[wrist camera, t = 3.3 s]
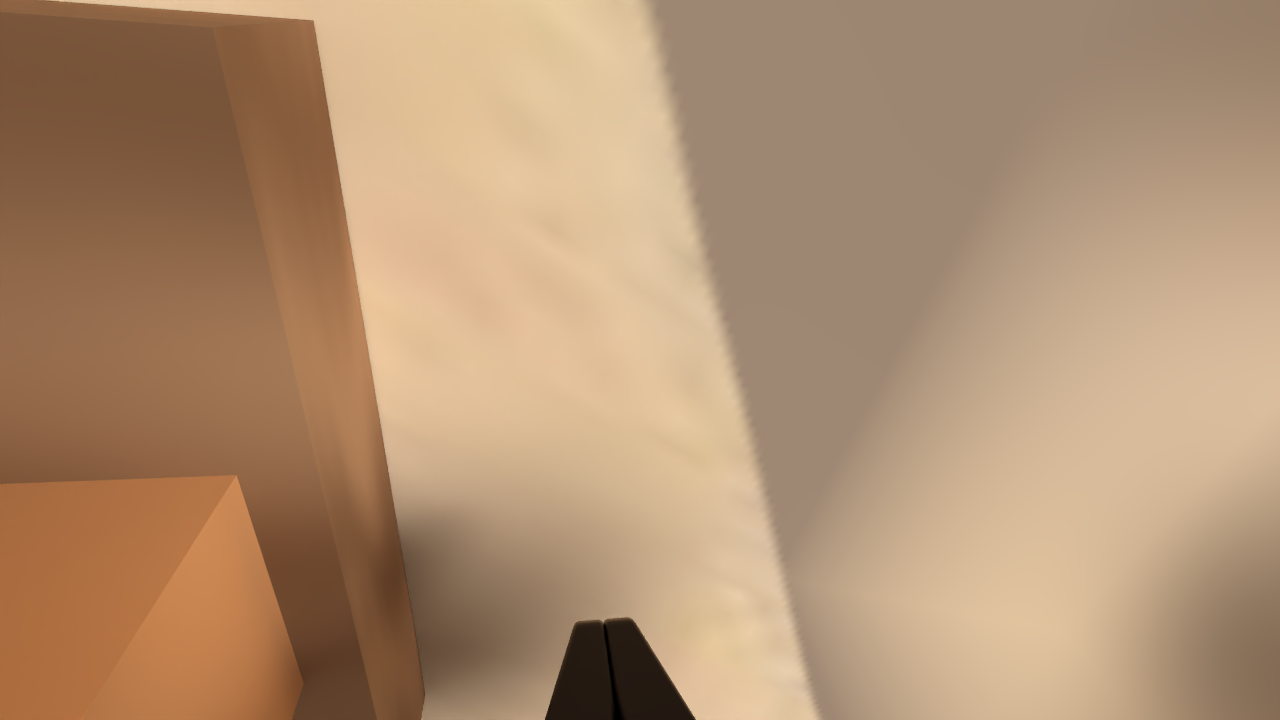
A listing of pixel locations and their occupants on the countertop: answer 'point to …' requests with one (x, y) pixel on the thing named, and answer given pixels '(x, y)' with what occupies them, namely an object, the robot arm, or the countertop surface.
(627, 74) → the countertop surface
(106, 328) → the trap board
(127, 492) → the block
